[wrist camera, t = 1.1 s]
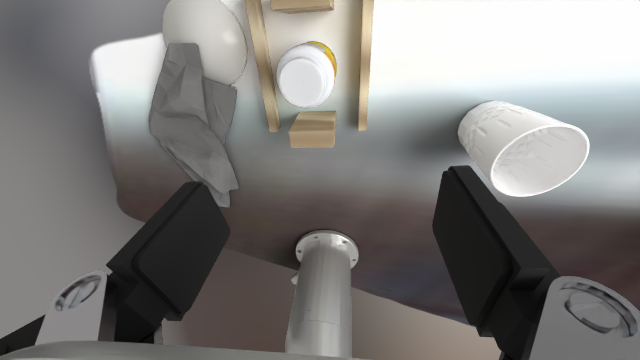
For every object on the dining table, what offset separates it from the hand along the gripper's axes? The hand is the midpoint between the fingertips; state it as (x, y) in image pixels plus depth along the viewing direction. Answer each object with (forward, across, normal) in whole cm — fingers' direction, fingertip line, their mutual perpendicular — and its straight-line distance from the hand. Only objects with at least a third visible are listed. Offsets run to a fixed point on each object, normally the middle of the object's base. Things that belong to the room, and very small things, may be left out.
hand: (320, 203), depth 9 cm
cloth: (+23, +22, +6) cm, 33 cm away
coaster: (+24, +16, -6) cm, 29 cm away
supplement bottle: (+24, +3, -1) cm, 24 cm away
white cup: (+24, -18, +8) cm, 31 cm away
